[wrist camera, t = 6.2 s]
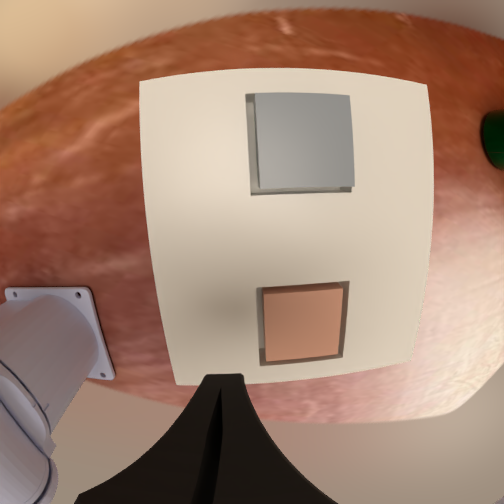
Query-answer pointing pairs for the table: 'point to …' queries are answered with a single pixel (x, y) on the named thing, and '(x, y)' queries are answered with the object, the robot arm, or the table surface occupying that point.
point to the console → (284, 222)
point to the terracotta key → (301, 320)
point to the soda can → (495, 137)
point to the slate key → (303, 140)
